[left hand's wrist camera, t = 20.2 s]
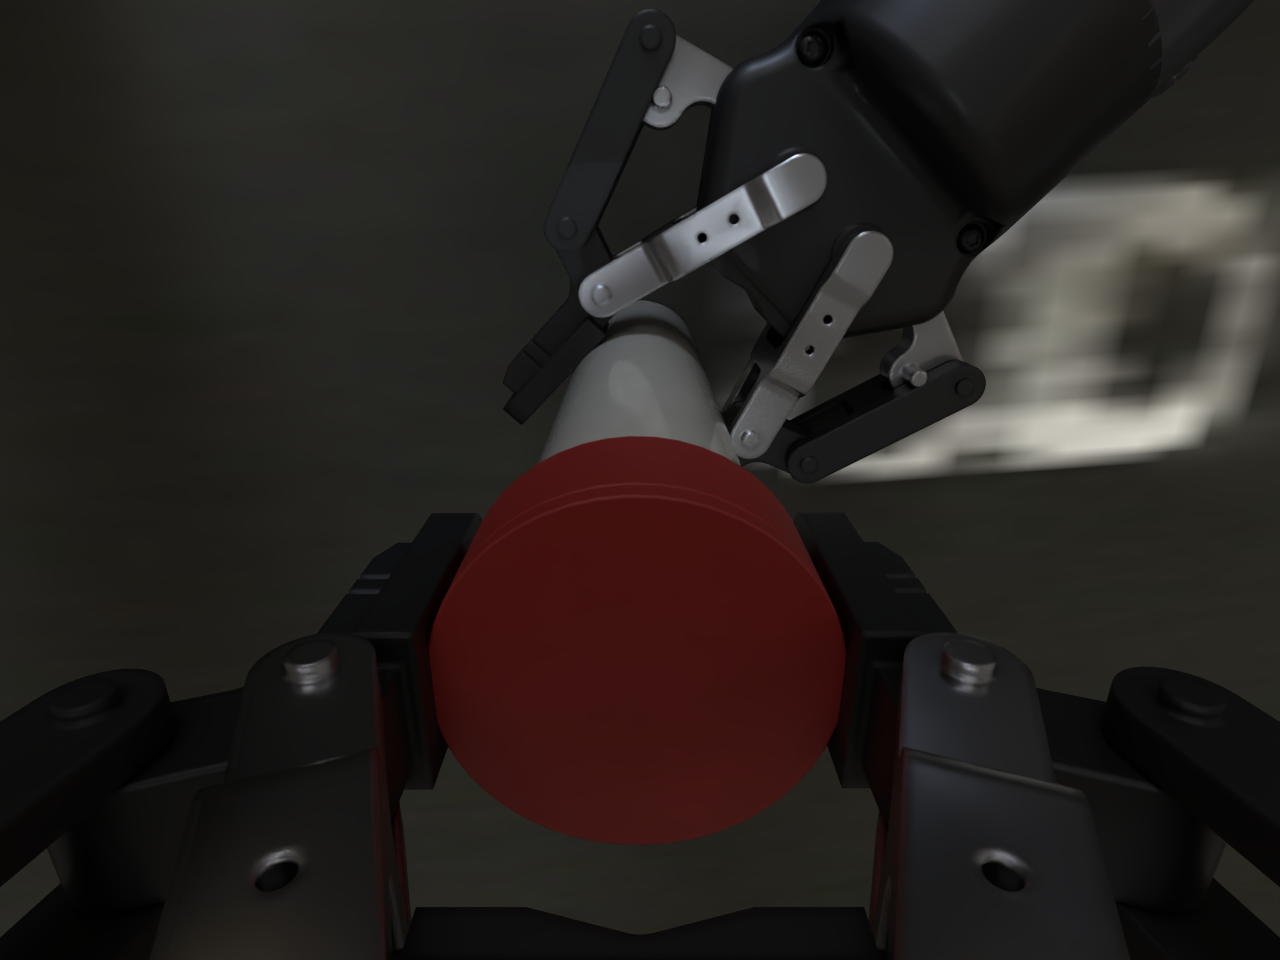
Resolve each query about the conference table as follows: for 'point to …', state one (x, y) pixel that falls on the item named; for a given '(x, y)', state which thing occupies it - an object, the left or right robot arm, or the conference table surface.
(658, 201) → the conference table surface
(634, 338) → the white tall cylinder
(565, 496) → the lid
